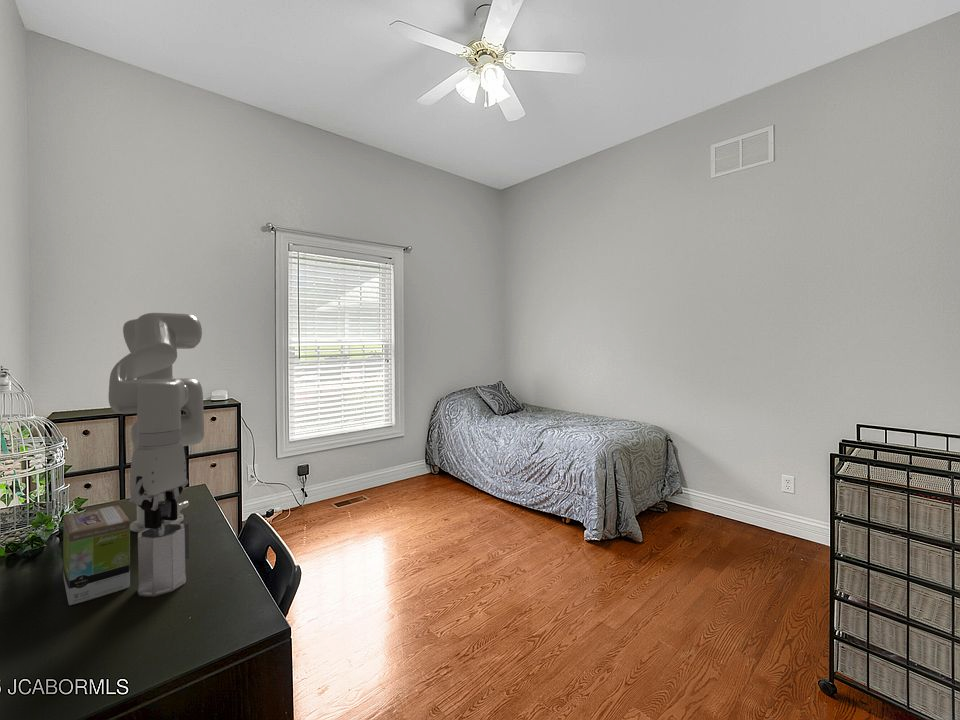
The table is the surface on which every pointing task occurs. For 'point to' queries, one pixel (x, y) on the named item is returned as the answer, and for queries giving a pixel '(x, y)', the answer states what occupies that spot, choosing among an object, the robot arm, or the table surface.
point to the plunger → (164, 514)
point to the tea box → (96, 553)
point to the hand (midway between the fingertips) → (161, 522)
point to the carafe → (162, 559)
